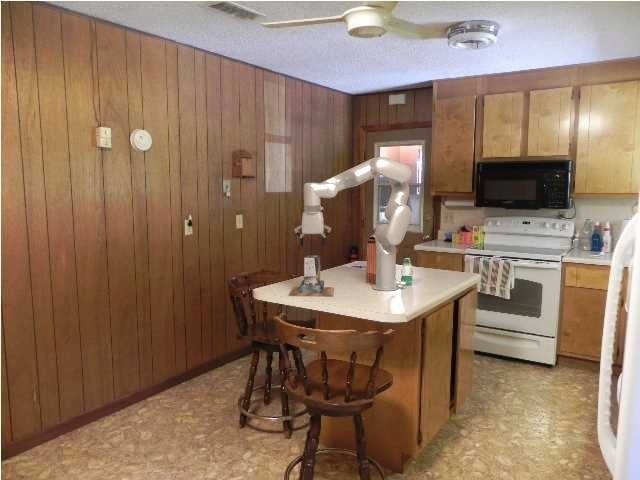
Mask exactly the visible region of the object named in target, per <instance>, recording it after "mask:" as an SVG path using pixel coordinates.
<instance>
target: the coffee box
mask: <svg viewBox="0 0 640 480" xmlns="http://www.w3.org/2000/svg"><path fill="white" fill-rule="evenodd" d="M303 259H304V260H303V263H304V265H303V271H304V273H303V280H304V285H320V280H321V255H319V254H316V255H314V254H313V255H306V256H304V257H303Z"/></svg>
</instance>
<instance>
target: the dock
mask: <svg viewBox="0 0 640 480" xmlns="http://www.w3.org/2000/svg"><path fill="white" fill-rule="evenodd" d="M334 291H335V287H334V286H333V287H332V286H331V287H330V286H325V279H323V280H321V279H320V285H304V279H302V280H301V283H300V284H299V286H292V288H291V289H290V291H289V293H288V295H289V297H327V298H328V297H331V298H333V297H334V293H335V292H334Z"/></svg>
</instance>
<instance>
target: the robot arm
mask: <svg viewBox="0 0 640 480" xmlns="http://www.w3.org/2000/svg"><path fill="white" fill-rule="evenodd" d="M378 176H383V177H385V178H387V179H388V182H389V184H390V186H391V193H390V195H389V199H388V202H387V204H386V207H385V210H384V218H385V220H387V221H388V222H389V223H383V224H380V225H378V227H377V228H376V229H375V231H374V240H375V250H376V251H375V284H373V285H372V289H374V290H377V291H383V292H388V291H391V292H392V291H397V290H399V286H406V281H404V280H397V278H396V273H397V272H396V269H397V268H396V267H397V264H396V263H397V248H396V246H397V245H400V244H401V243H402V242H403V240H404V238H405V235H406V233H407V230H408V227H409V224H410V222H411V219H412V210H411V208H410V207H409V206H408V205H407V203H408V200H409V197H410V187H409V183H408V182H410V180H411V179H412V178H413V171H412V168H411V167H410V166H409V165H407V164H404V163H402V162H400V161H396V160H393V159H391V158H388V157H385V156H378V157H372V158H370V159H368V160H366V161H364V162H362V163H360V164H358V165H355V166H353V167H352V168H349V169H346V170H345V171H343V172H341V173H339V174H336V175H334V176H332V177H330V178H328V179H326V180H324V181H321V182H320V183H319V182H305V183H304V185H303V206H304V209H303V210H304V211H303V212H302V216H301V217H302V218H301V224H300V225H298V226H296V227H294V233H295V234H296V235H297V236H298V237H299V239H300V241H299V242H300V243H299V244H300V246H301V247H302V248H303V247H304V246H305V239H304V236H305V235H321V237H322V239H321V240H322V243H321V244H322V248H323V247H325V245H326V243H327V241H326V238H327V237H328V236H329V235H330V232H331V231H332V228H331V227H330V226H328V225H326V224H325V223H324V215H323V212H322V211H324V206H321V198H323V199H333V198H335V197H336V196H337V194H338V192H340V191H342V190H345V189H350V188H354V187H357V186H359V185H361V184H363V183H365V182H367V181H371V180H372V179H375V178H376V177H378ZM325 229H326V230H327V231H326V233H325V232H324V231H325ZM299 230H301V233H300V232H299Z"/></svg>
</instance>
